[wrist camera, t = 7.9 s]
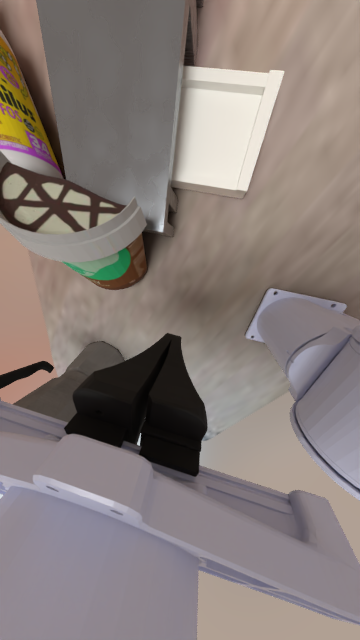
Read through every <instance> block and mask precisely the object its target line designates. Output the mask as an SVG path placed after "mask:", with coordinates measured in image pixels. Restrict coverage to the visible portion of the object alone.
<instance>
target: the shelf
mask: <svg viewBox="0 0 360 640" xmlns="http://www.w3.org/2000/svg"><path fill="white" fill-rule="evenodd" d="M36 2H37V8H38V14H39V20H40V26H41V32H42V38H43V44H44V50H45V56H46V62H47V68H48V74H49V80H50V86H51V92H52V98H53V103H54V109H55V115H56V121H57V127H58V133H59V139H60V145H61V151H62V157H63V163H64V169H65V175H66V180H69V181H71V182H73V183H75V184H77V185H79V186H81V187H83V188H85V189H87V190H89V191H91V192H93V193H95V194H97V195H99V196H101V197H103V198H105V199H108V200H110V201H113V202H115V203H118V204H122V205H128V204H129V203H130V201H131V200H132V199H133V197H135V198H136V202H137V205H138V206H139V207H141V210H142V212H143V215H144V218H145V220H146V223H147V225H146V227H145V228H144V230H143V231H144V232H149V233H154V234H159V235H164V236H170V237H173V235H174V227H173V226H171V225H170V224H169V223H167V218H168V212H174V213H176V211H177V204H178V199H177V197H176V196H175V194H174V192H173V190H172V188H171V180H172V170H173V160H174V151H175V141H176V132H177V122H178V112H179V103H180V93H181V84H182V74H183V66H193V67H195V63H196V55H197V47H198V33H197V11H196V6H197V7H203V0H36Z"/></svg>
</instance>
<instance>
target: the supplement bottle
mask: <svg viewBox="0 0 360 640" xmlns="http://www.w3.org/2000/svg"><path fill="white" fill-rule="evenodd" d="M0 151H1V152H2V153H3V154H4V155H5V156H6V157H7V159H8V160H9V161H10V162H11V163H12V164H14V165H17V166H19V167H22V168H25V169H27V170H30V171H33V172H35V173H38V174H42V175H46V176H51V177H57V178H61V179H63V176H62V173H61V171H60V168H59V166H58V163H57V161H56V158H55V156H54V153H53V151H52V148H51V146H50V143H49V141H48V138H47V136H46V133H45V130H44V128H43V125H42V123H41V120H40V118H39V115H38V113H37V110H36V108H35V105H34V103H33V100H32V98H31V95H30V93H29V90H28V88H27V85H26V82H25V80H24V77H23V75H22V72H21V70H20V67H19V65H18V62H17V60H16V57H15V55H14V53H13V51H12V49H11V47H10V45H9V43H8V41H7V39H6V38H5V36H4V34H3V33H2V31H1V30H0Z"/></svg>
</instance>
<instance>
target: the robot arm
mask: <svg viewBox="0 0 360 640" xmlns="http://www.w3.org/2000/svg"><path fill="white" fill-rule="evenodd" d="M275 291H277V293H276V294H273V293H274V292H275ZM332 304H333V306H331V305H332ZM346 307H347V305H346V304H344V303H341V302H336V301H331V300H326V299H322V298H317V297H312V296H308V295H303V294H298V293H293V292H289V291H284V290H279V289H274V288H269V289H268V290H267V291H266V294H265V296H264V298H263V300H262V302H261V304H260V306H259V308H258V310H257V312H256V314H255V316H254V318H253V320H252V322H251V324H250V326H249V328H248V330H247V332H246V334H245V336H246V338H247V339H251V340H255V341H259V342H263V343H265V344H266V345H267V347H268V348H269V350H270V352H271V353H272V355H273V356H274V358H275V359H276V361H277V362H278V364H279V366H280V367H281V369H282V370H283V372H284V373H285V375H286V376H287V378H288V379H289V382H290V387H289V389H288V390H289V391H290V393H291V395H292V396H293V398H294V400H295V401H296V402H295V403H294V404H293V406H292V407H291V410H290V421H291V424H292V427H293V430H294V432H295V434H296V436H297V438H298V439H299V441H300V443H301V444H302V446H303V447H304V448H305V450H306V451H307V452H308V454H309V455H310V456H311V458H312V459H313V460H314V461H315V462H316V463H317V464H318V465H319V467H320V468H321V469H322V470H323V471H324V472H325V473H326V474H327V475H328V476H329V477H330V478H331V479H332V480H334V481H335V482H336V483H337V484H339V485H340V486H341V487H342V488H343V489H344V490H346V491H347V492H348V493H350V494H351V495H352V496H354V497H355V498H357V499H358V500H359V501H360V320H359V319H356V318H354V317H352V316H349V315H347V314H345V313H343V311H344V310H345V309H346ZM251 336H253V337H251ZM72 397H73V402H74V405H75V408H76V411H77V413H76V414H75V415H74V416H73V418H72V419H71V420H70V421H69V423H68V422H65V421H62V420H59V419H56V418H53V417H50V416H46V415H43V414H40V413H37V412H34V411H31V410H28V409H25V408H22V407H19V406H16V405H13V404H10V403H7V402H4V401H1V399H0V494H3V497H2V498H1V499H0V640H197V606H198V604H197V603H198V570H200V571H203V572H206V573H208V574H211V575H214V576H217V577H220V578H222V579H225V580H228V581H231V582H234V583H237V584H239V585H242V586H245V587H248V588H251V589H253V590H256V591H259V592H262V593H265V594H268V595H270V596H273V597H276V598H279V599H281V600H284V601H287V602H290V603H292V604H295V605H298V606H300V607H303V608H306V609H308V610H312V611H314V612H317V613H319V614H322V615H324V616H327V617H330V618H332V619H336V620H340V621H344V622H348V623H352V624H355V625H360V564H359V562H358V560H357V558H356V556H355V554H354V552H353V550H352V548H351V546H350V544H349V542H348V540H347V538H346V536H345V534H344V532H343V530H342V528H341V526H340V524H339V522H338V520H337V518H336V516H335V514H334V511H333V509H332V507H331V506H330V503H329V502H328V500H327V499H326V498H323V497H320V496H317V495H314V494H311V493H308V492H305V491H300V490H295V491H292V492H290V493H289V494H285V493H282V492H279V491H276V490H273V489H270V488H267V487H264V486H261V485H258V484H254V483H252V482H248V481H246V480H242V479H239V478H236V477H233V476H230V475H227V474H224V473H221V472H218V471H215V470H212V469H208V468H206V467H202V466H200V465H199V455H200V451H201V440H202V439H203V437H204V435H205V434H206V432H207V416H206V411H205V406H204V403H203V401H202V400H201V398H200V397H199V395H198V393H197V391H196V389H195V388H194V386H193V384H192V381H191V379H190V377H189V375H188V372H187V370H186V367H185V363H184V360H183V355H182V350H181V337H180V336H176V335H172V334H168V333H167V334H165V335H164V336H163V337H162V338H161V339H160V340H159V341H158V342H156V343H155V344H154V345H152V346H151V347H150V348H148V349H147V350H145V351H144V352H142V353H140V354H138V355H137V356H135V357H133V358H131V359H129V360H126V361H124V362H122V363H119V364H116V365H114V366H111V367H107V368H104V369H101V370H97V371H94V372H93V373H92V374H91V375H90V376H88V377H87V378H86V379H85V380H84V381H83V382H82V383H81V385H80V386H79V387H78V388H77V389H76V390H75V391H74V392H73V395H72ZM140 433H141V441H140V446H138V445H137V442H138V439H139V436H140Z"/></svg>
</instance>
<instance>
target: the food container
mask: <svg viewBox="0 0 360 640" xmlns="http://www.w3.org/2000/svg"><path fill="white" fill-rule="evenodd" d="M0 223H1V224H2V226H3V227H5V229H7V230H8V231H9V232H10V233H11V234H12V235H13V236H14V237H15V238H16V239H17V240H18V241H19V242H20V243H21V244H22V245H23V246H25V247H26V248H27V249H29V250H30V251H32V252H34V253H36V254H38V255H40V256H42V257H45V258H48V259H52V260H55V261H61V262H63V263H64V264H66V265H67V266H69V267H70V268H72V269H73V270H75V271H76V272H78V273H79V274H81V275H82V276H84V277H85V278H87V279H88V280H90V281H91V282H93V283H94V284H96V285H97V286H99V287H101V288H105V289H109V290H119V289H124V288H127V287H130V286H132V285H134V284H135V283H137V282H138V281H139V280H140V279H141V278H142V277H143V276H144V275H145V273H146V271H147V264H146V258H145V251H144V244H143V238H142V231H143V230H144V228H145V227H146V225H147V223H146V220H145V218H144V215H143V212H142V210H141V207H139V206H138V205H137V202H136V198H135V197H133V199H132V200H131V201H130V203H129V204H128V205H122V204H118V203H115V202H113V201H110V200H108V199H105V198H103V197H101V196H99V195H97V194H95V193H93V192H91V191H89V190H87V189H85V188H83V187H81V186H79V185H77V184H75V183H73V182H71V181H69V180H65V179H61V178H57V177H51V176H46V175H42V174H38V173H35V172H33V171H30V170H27V169H25V168H22V167H19V166H17V165H14V164H12V163H11V162H10V161H9V160H8V159H7V157H6V156H5V155H4V154H3V153H2V152H1V151H0Z"/></svg>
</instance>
